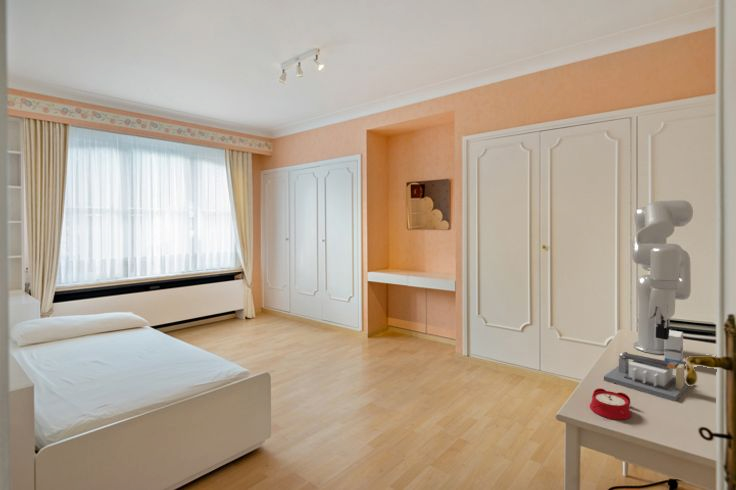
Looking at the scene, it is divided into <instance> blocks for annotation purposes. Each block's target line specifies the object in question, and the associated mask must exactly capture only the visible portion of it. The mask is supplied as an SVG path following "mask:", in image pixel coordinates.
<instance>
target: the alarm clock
mask: <svg viewBox="0 0 736 490" xmlns="http://www.w3.org/2000/svg"><path fill="white" fill-rule="evenodd" d="M630 405H631V397H629V395H628V394H626V393H624V392H620V391H619V392H615V391H610V390H606V389H604V388H599V387H598V388H596V389H594V390H593V393H592V395H591V402H590V404H589V408H590V410H591V411H592V412H594V414H596V415H598V416H600V417H603V418H606V419H607V420H610V421H612V420H619V421H620V420H621V421H622V420H623V421H624V420H627V419H630V418H631V417H632V411H631V410H630Z"/></svg>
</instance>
